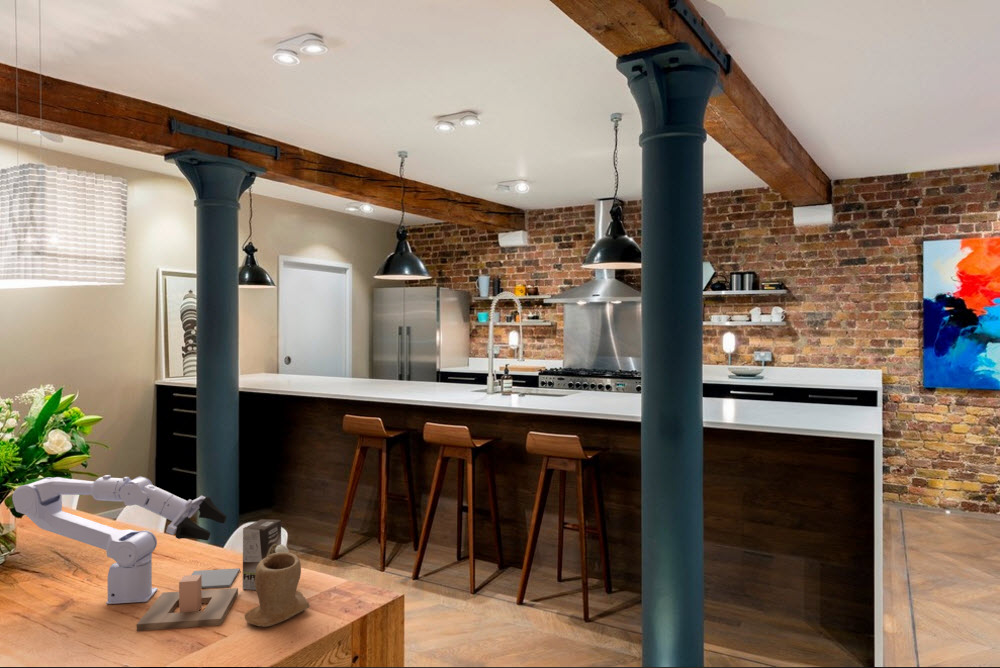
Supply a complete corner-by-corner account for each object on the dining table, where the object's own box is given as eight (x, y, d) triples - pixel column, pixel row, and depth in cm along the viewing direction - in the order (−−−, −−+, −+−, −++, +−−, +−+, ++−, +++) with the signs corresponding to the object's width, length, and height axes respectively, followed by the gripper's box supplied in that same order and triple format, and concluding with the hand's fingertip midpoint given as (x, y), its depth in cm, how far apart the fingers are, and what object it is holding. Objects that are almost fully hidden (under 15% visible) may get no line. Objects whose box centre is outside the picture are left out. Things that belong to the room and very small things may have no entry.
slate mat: (181, 589, 174) (181, 587, 174) (194, 572, 186) (194, 570, 186) (230, 587, 176) (230, 584, 176) (239, 570, 188) (239, 568, 188)
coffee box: (264, 591, 173) (264, 529, 173) (241, 589, 174) (241, 527, 174) (282, 578, 182) (282, 519, 182) (260, 576, 183) (260, 518, 183)
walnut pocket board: (136, 630, 151) (136, 624, 151) (162, 598, 168) (162, 592, 168) (220, 625, 154) (220, 618, 154) (237, 593, 171) (237, 588, 171)
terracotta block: (179, 615, 159) (179, 582, 159) (184, 608, 163) (184, 575, 163) (197, 614, 159) (196, 581, 159) (201, 607, 163) (201, 574, 163)
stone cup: (269, 636, 148) (269, 569, 148) (237, 622, 155) (237, 558, 155) (323, 612, 161) (323, 550, 160) (291, 600, 167) (291, 541, 167)
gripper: (154, 508, 161) (205, 532, 160) (188, 479, 174) (236, 500, 174) (147, 531, 163) (198, 554, 163) (182, 500, 177) (229, 521, 176)
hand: (217, 528), depth 169 cm, fingers open, 7 cm apart
